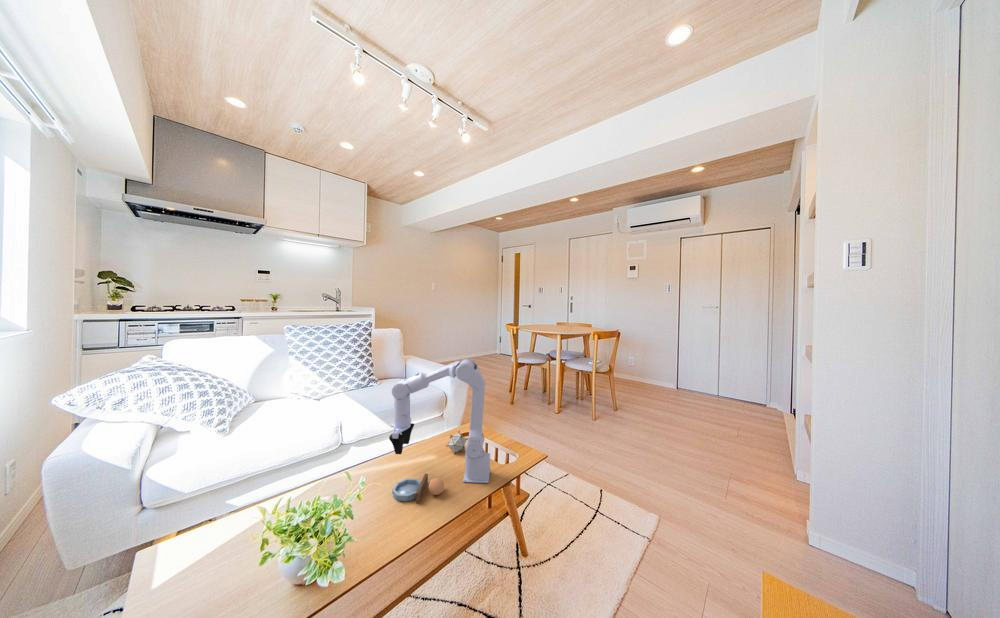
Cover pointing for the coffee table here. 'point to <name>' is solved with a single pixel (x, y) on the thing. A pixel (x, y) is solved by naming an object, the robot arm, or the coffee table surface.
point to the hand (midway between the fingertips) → (402, 448)
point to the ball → (436, 486)
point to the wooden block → (421, 488)
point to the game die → (456, 442)
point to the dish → (405, 489)
